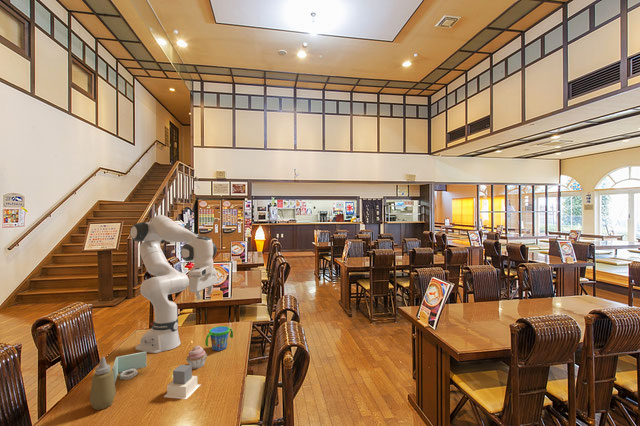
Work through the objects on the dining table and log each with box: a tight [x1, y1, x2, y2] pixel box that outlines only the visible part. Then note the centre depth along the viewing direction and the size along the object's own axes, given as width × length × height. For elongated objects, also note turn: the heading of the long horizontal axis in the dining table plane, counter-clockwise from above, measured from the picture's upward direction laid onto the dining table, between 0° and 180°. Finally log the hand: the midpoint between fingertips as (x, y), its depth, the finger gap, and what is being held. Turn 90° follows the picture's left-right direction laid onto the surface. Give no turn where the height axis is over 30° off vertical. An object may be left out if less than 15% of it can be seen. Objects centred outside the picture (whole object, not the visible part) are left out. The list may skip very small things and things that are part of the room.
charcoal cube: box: [172, 364, 193, 384], centre depth 121 cm, size 5×5×5 cm
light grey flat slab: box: [163, 383, 201, 400], centre depth 121 cm, size 18×14×1 cm
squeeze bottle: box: [89, 356, 117, 411], centre depth 113 cm, size 8×8×18 cm
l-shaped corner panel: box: [111, 351, 147, 383], centre depth 135 cm, size 12×12×8 cm
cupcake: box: [186, 345, 208, 370], centre depth 142 cm, size 9×9×10 cm
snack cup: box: [204, 325, 234, 352], centre depth 161 cm, size 16×10×10 cm
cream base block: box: [166, 375, 198, 397], centre depth 121 cm, size 8×8×4 cm
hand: (204, 296), depth 149 cm, fingers open, 8 cm apart
